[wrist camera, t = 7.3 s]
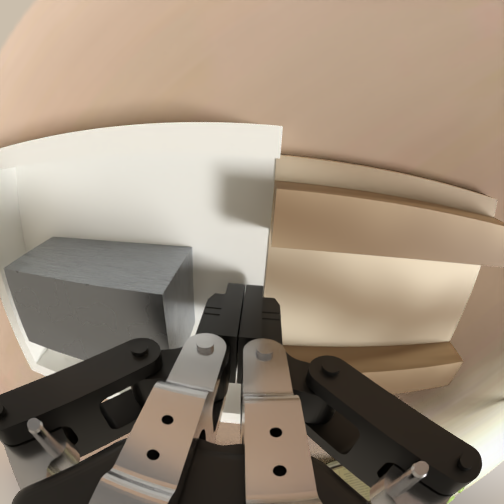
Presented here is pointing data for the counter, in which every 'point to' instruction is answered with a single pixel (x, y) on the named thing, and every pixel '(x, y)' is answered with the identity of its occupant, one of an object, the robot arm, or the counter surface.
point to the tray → (145, 205)
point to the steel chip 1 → (50, 291)
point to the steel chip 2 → (133, 296)
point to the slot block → (376, 267)
